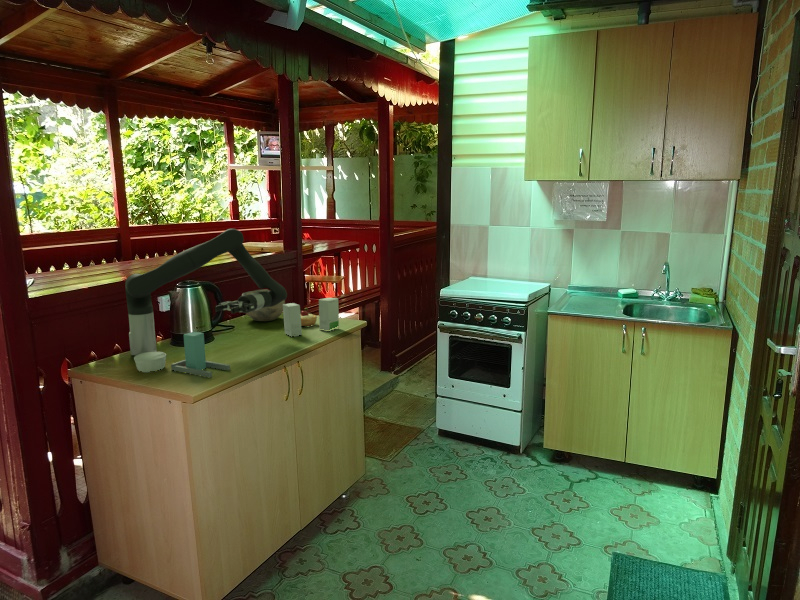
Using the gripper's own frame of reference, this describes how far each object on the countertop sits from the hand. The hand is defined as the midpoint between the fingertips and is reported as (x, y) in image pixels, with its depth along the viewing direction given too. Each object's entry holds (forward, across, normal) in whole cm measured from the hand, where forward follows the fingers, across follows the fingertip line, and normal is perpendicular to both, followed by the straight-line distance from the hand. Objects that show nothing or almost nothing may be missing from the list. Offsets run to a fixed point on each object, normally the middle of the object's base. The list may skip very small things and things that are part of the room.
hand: (223, 310), depth 211 cm
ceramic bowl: (-60, -30, +20) cm, 70 cm away
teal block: (+17, 0, +20) cm, 26 cm away
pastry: (-60, -4, +21) cm, 64 cm away
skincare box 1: (-42, +2, +20) cm, 46 cm away
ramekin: (+24, -16, +20) cm, 35 cm away
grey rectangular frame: (+17, +4, +20) cm, 26 cm away
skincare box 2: (-58, +12, +21) cm, 62 cm away
